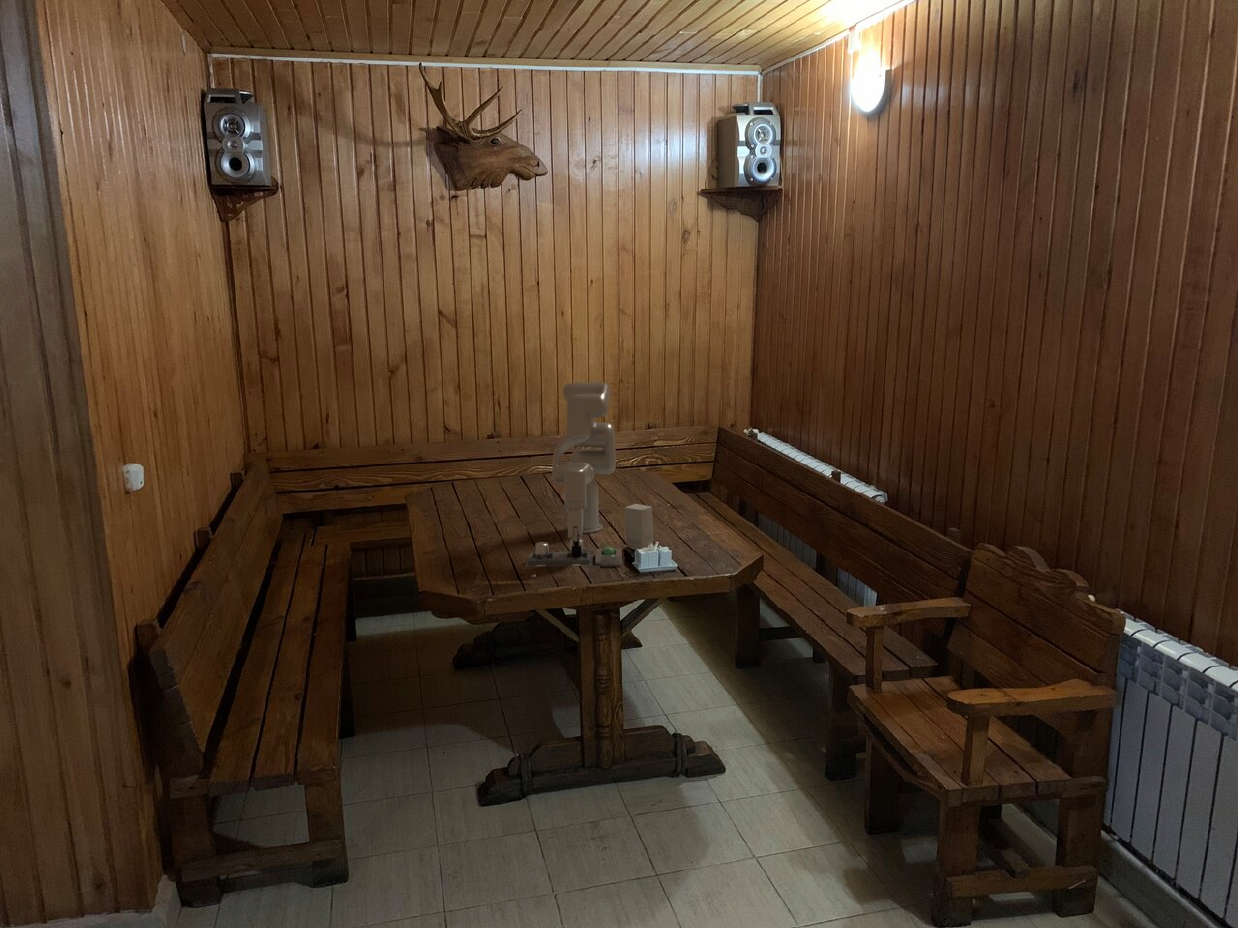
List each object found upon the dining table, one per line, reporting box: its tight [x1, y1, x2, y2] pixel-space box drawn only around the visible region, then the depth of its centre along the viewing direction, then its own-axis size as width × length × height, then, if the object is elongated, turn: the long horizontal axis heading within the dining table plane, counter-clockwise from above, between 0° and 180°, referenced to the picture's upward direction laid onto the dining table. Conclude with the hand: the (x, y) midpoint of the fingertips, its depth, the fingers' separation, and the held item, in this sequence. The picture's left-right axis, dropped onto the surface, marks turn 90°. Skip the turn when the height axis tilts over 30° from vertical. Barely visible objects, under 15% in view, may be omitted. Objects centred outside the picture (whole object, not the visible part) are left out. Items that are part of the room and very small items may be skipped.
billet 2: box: [569, 537, 584, 559], centre depth 311 cm, size 4×4×6 cm
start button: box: [602, 546, 615, 555], centre depth 311 cm, size 4×4×3 cm
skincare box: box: [624, 503, 654, 548], centre depth 326 cm, size 8×7×16 cm
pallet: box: [524, 551, 594, 568], centre depth 311 cm, size 13×23×2 cm, turn 90°
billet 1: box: [534, 541, 550, 560], centre depth 311 cm, size 4×4×6 cm
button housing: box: [595, 547, 623, 567], centre depth 311 cm, size 9×9×4 cm
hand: (577, 553), depth 311 cm, fingers closed on billet 2, 4 cm apart
